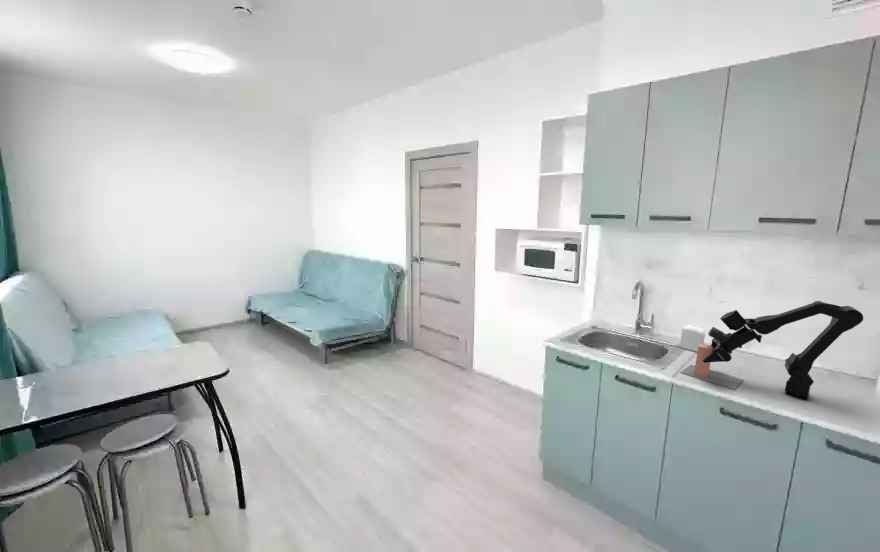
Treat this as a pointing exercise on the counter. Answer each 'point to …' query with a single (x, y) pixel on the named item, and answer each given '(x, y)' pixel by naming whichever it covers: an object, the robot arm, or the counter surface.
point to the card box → (702, 353)
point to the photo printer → (692, 337)
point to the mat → (715, 378)
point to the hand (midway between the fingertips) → (703, 358)
